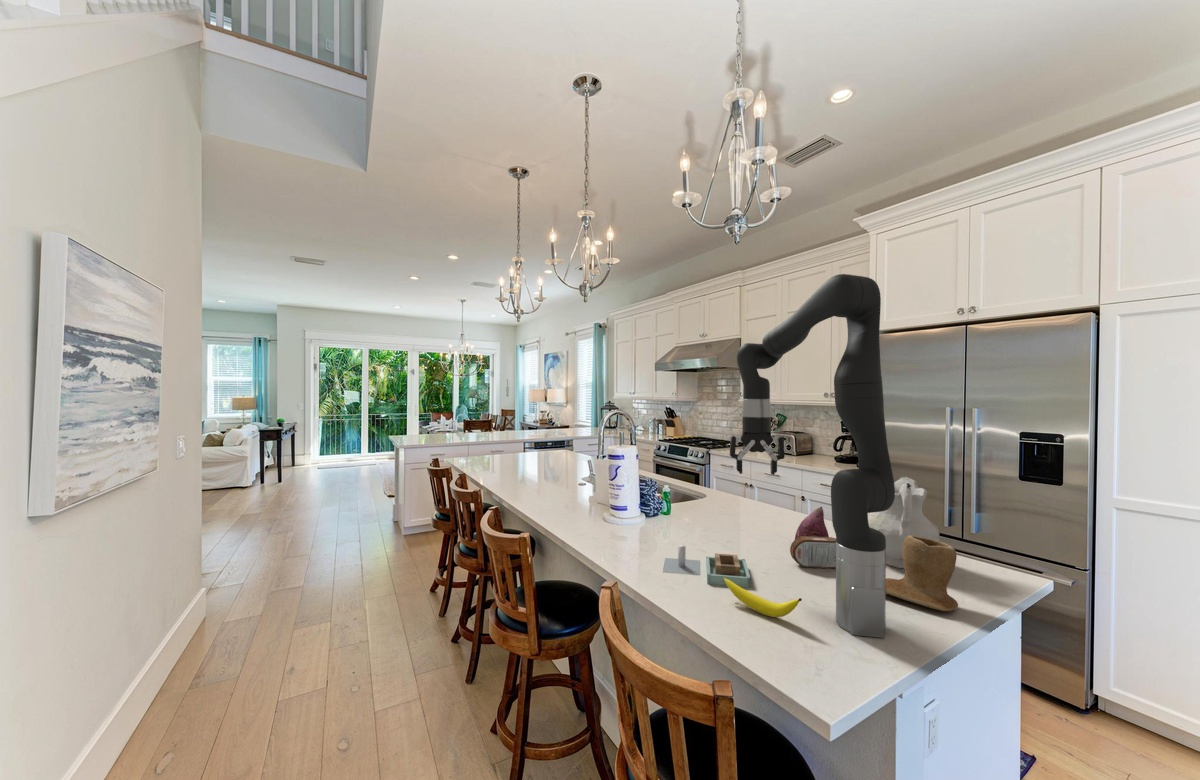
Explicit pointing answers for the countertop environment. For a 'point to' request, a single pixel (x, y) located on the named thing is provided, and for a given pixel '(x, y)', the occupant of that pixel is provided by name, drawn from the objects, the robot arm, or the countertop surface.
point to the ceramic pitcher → (903, 520)
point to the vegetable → (813, 525)
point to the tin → (814, 552)
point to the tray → (740, 580)
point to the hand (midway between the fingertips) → (756, 473)
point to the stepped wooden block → (727, 565)
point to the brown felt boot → (925, 574)
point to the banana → (761, 602)
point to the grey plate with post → (681, 564)
